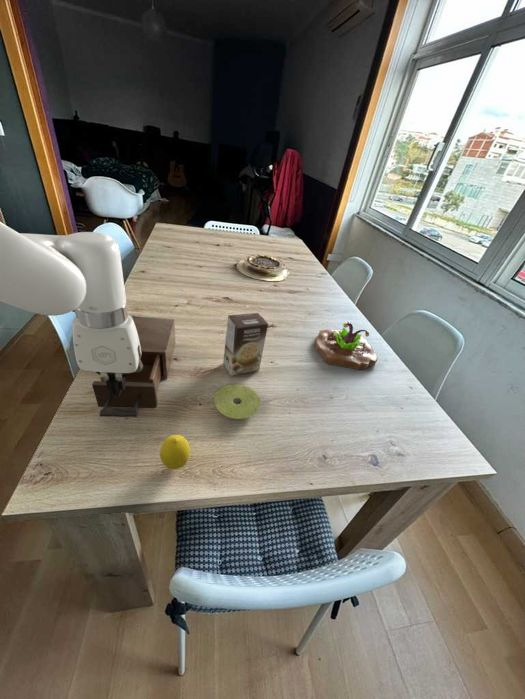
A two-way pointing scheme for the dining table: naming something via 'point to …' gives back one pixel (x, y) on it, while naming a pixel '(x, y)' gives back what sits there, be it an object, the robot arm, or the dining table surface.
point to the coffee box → (244, 343)
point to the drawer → (132, 389)
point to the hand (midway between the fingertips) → (117, 390)
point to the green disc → (237, 401)
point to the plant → (345, 348)
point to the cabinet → (157, 338)
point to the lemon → (175, 452)
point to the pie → (263, 267)
